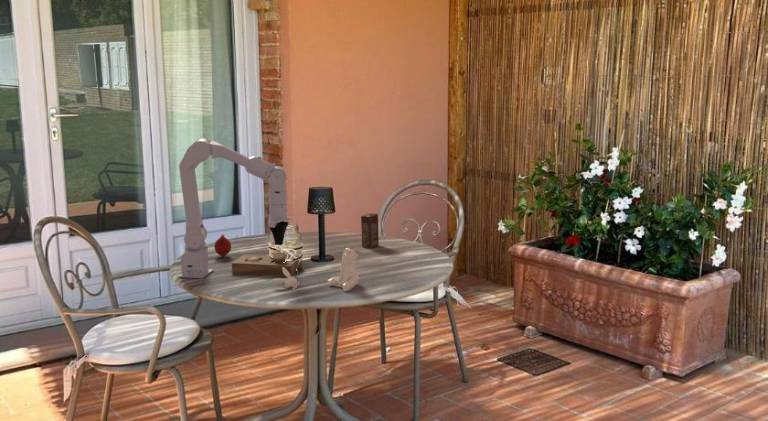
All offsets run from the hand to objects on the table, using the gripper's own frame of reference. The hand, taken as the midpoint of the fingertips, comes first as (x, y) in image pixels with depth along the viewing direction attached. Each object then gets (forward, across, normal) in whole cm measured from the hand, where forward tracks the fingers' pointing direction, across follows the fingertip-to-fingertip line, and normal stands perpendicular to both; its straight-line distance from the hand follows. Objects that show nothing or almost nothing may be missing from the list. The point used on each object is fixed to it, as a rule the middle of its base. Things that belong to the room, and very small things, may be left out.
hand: (279, 244), depth 256 cm
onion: (+9, +14, +26) cm, 31 cm away
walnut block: (+9, 0, +4) cm, 10 cm away
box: (+9, +39, -22) cm, 46 cm away
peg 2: (+6, 0, 0) cm, 6 cm away
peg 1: (+9, 0, +9) cm, 12 cm away
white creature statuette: (+9, -12, -26) cm, 30 cm away
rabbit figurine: (+9, -17, -8) cm, 21 cm away
